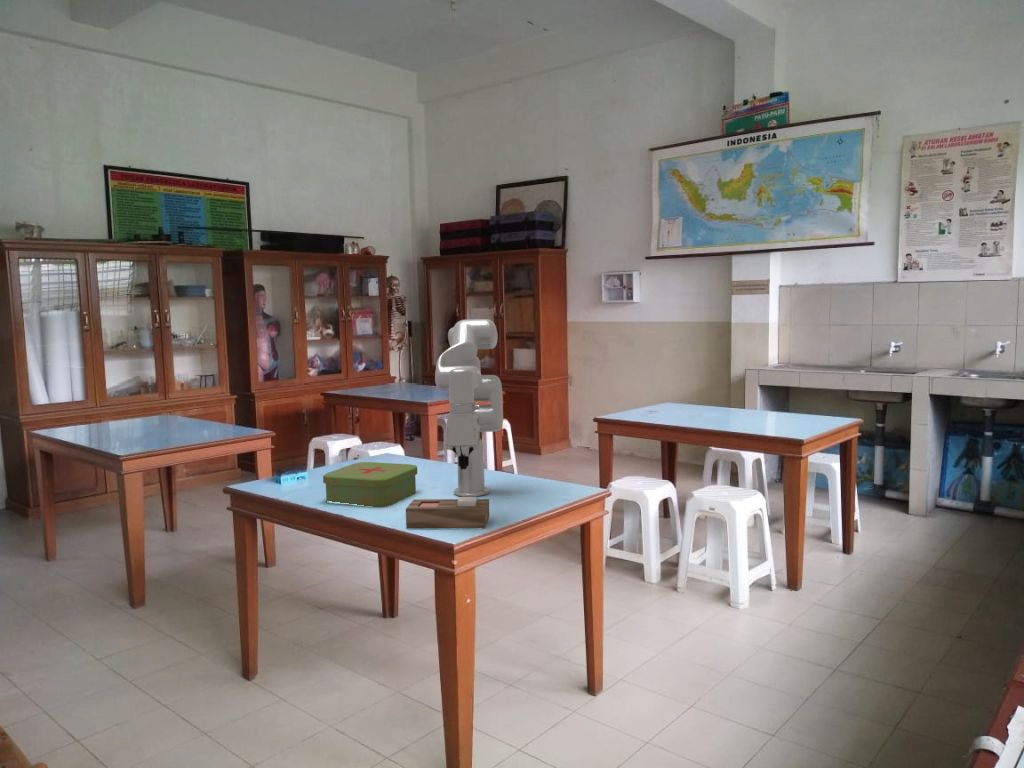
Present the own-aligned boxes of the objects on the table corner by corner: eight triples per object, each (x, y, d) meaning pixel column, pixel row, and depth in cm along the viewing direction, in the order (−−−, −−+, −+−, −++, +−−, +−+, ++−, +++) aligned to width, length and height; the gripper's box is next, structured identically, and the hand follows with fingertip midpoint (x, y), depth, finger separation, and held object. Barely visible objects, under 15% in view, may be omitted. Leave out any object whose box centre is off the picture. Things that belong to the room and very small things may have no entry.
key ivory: (460, 511, 236) (460, 497, 236) (477, 511, 236) (477, 496, 235) (457, 515, 231) (457, 501, 230) (475, 515, 230) (475, 501, 230)
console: (414, 517, 241) (413, 499, 240) (489, 517, 239) (489, 499, 238) (406, 528, 229) (405, 509, 228) (485, 528, 227) (484, 508, 226)
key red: (422, 517, 237) (422, 503, 237) (439, 517, 237) (439, 503, 236) (419, 522, 232) (418, 507, 231) (436, 522, 231) (436, 507, 231)
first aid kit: (360, 487, 287) (359, 461, 286) (422, 491, 278) (421, 464, 277) (319, 504, 263) (318, 475, 262) (385, 509, 253) (384, 479, 252)
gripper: (487, 407, 233) (489, 465, 235) (440, 407, 235) (441, 466, 236) (484, 410, 226) (486, 470, 227) (435, 410, 227) (437, 471, 229)
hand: (463, 468), depth 232 cm, fingers closed
